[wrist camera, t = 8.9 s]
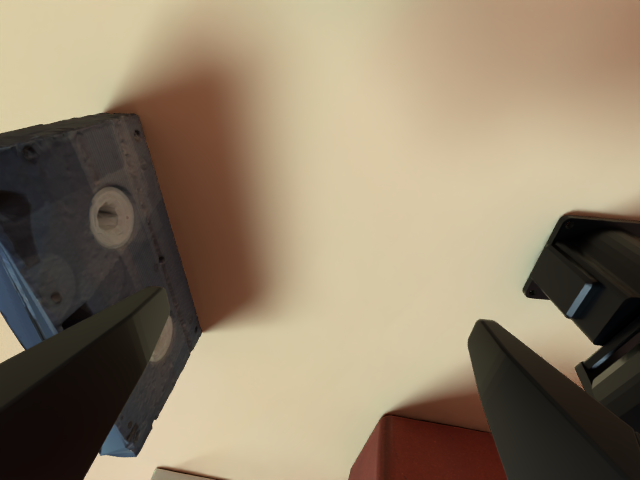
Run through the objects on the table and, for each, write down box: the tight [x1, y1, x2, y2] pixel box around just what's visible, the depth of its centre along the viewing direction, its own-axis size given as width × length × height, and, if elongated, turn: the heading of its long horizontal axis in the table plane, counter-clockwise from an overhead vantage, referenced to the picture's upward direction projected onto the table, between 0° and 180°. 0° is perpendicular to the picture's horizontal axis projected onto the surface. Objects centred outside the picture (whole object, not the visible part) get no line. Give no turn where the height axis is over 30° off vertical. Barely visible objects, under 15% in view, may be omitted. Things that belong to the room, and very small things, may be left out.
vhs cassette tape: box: [0, 113, 202, 457], centre depth 18 cm, size 18×3×10 cm, turn 179°
